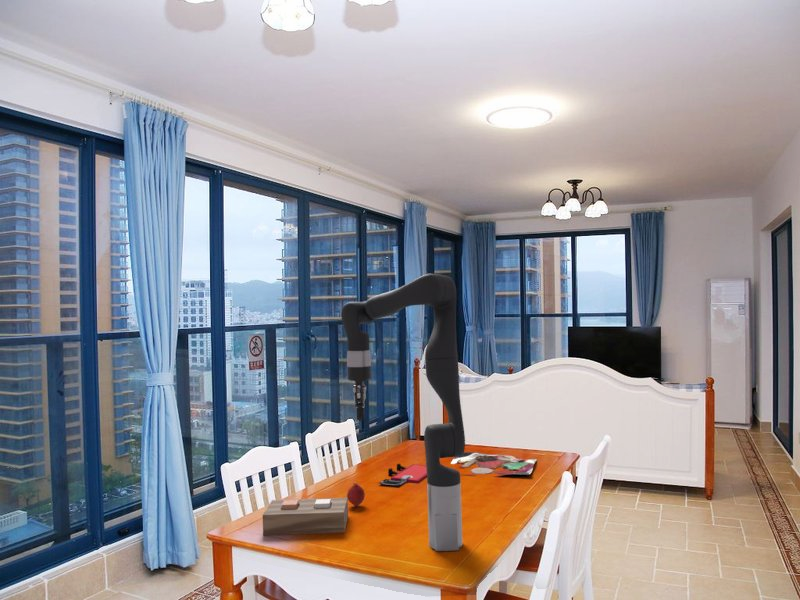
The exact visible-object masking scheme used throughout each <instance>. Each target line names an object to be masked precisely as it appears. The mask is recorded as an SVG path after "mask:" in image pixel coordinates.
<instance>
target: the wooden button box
mask: <svg viewBox="0 0 800 600" xmlns="http://www.w3.org/2000/svg"><path fill="white" fill-rule="evenodd" d="M317 499H318V498H302V499H301V498H297V499H293V498H292V499H291V500H299V507H298V509H282V504H283V502H284V500H285V499H272V500H271V501H270V503H269V504H268V506H267V507H266V509H265V510H264V512H263V514H262V535H263V536H282V535H285V536H287V535H309V534H311V535H313V534H316V535H317V534H341V533H343V534H344V533H345V531H346V527H347V523H348V518H349V500H348V498H347V497H334V498H333V497H330V498H329V497H327V498H322V499H331V508H315V502H316V500H317Z"/></svg>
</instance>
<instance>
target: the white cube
mask: <svg viewBox="0 0 800 600" xmlns="http://www.w3.org/2000/svg"><path fill="white" fill-rule="evenodd" d="M316 499H317V500H316V502H315V508H331V499H323V498H316Z"/></svg>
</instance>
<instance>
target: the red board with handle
mask: <svg viewBox="0 0 800 600" xmlns="http://www.w3.org/2000/svg"><path fill="white" fill-rule="evenodd" d="M400 469H401V471H400ZM398 470H399V472H397V471H398ZM387 471H388V477H390V479H387V478H385V479H383V480H381V481H380V482H378V484H380V485H388V486H389V485H390V486H399V487H400V486H401V485H403V484H404V483H413V484H414V483H415V484H419V483H420V482H422V481H423V480H425V478H426V479H427V471H426V465H422V464H411V465H409V466H407V467H406V466H402V465H401V463H400V462H399V463H397V464H396V471H395V470H393V468H391V467H390V468H388V469H387ZM392 475H393V476H392Z"/></svg>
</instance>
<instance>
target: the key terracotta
mask: <svg viewBox="0 0 800 600" xmlns="http://www.w3.org/2000/svg"><path fill="white" fill-rule="evenodd" d="M283 500H284V502H283V504H282V509H298V507H299V500H292V499H283Z"/></svg>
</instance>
